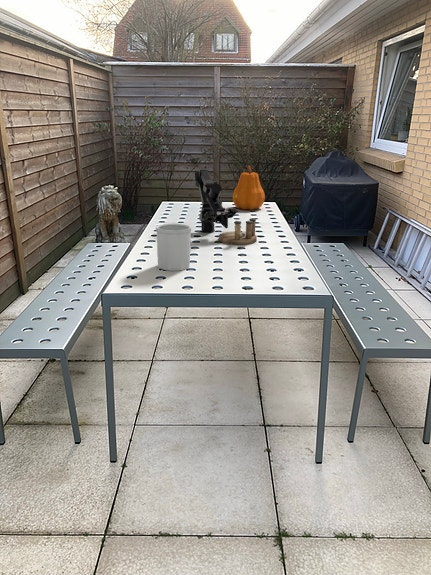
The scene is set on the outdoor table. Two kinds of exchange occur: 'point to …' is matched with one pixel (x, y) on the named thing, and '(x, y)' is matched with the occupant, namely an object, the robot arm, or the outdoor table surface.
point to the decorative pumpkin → (248, 191)
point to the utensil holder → (173, 246)
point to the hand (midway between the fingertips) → (226, 228)
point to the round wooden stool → (244, 240)
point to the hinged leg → (238, 230)
